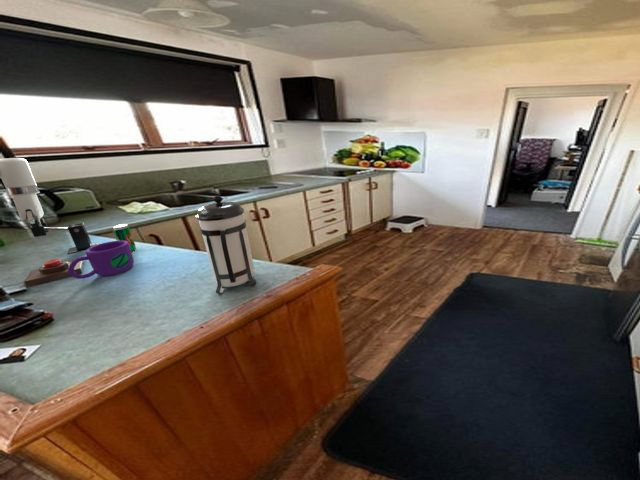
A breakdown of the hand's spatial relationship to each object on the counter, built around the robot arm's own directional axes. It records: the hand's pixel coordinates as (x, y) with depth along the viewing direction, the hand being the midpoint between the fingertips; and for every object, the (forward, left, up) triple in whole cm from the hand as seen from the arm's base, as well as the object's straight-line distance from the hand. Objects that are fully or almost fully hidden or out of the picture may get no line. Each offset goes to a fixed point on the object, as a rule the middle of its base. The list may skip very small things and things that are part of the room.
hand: (41, 233), depth 111 cm
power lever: (+5, 0, 0) cm, 5 cm away
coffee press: (+49, -82, -11) cm, 96 cm away
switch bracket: (+10, 0, -11) cm, 14 cm away
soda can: (+24, -18, -11) cm, 32 cm away
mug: (+17, -39, -11) cm, 44 cm away
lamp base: (+4, -26, -11) cm, 28 cm away
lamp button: (+4, -26, -7) cm, 27 cm away
